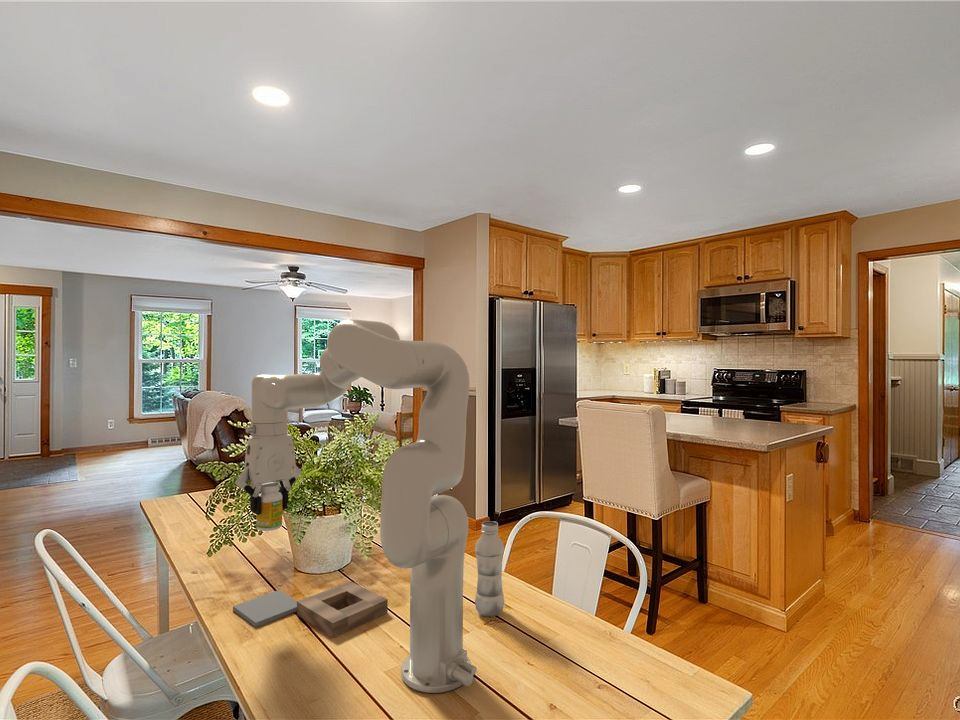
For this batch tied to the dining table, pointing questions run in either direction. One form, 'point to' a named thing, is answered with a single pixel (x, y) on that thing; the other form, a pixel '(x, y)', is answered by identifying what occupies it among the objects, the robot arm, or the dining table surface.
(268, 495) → the supplement bottle
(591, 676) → the dining table surface
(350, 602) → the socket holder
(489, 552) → the plastic bottle
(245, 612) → the grey pad
